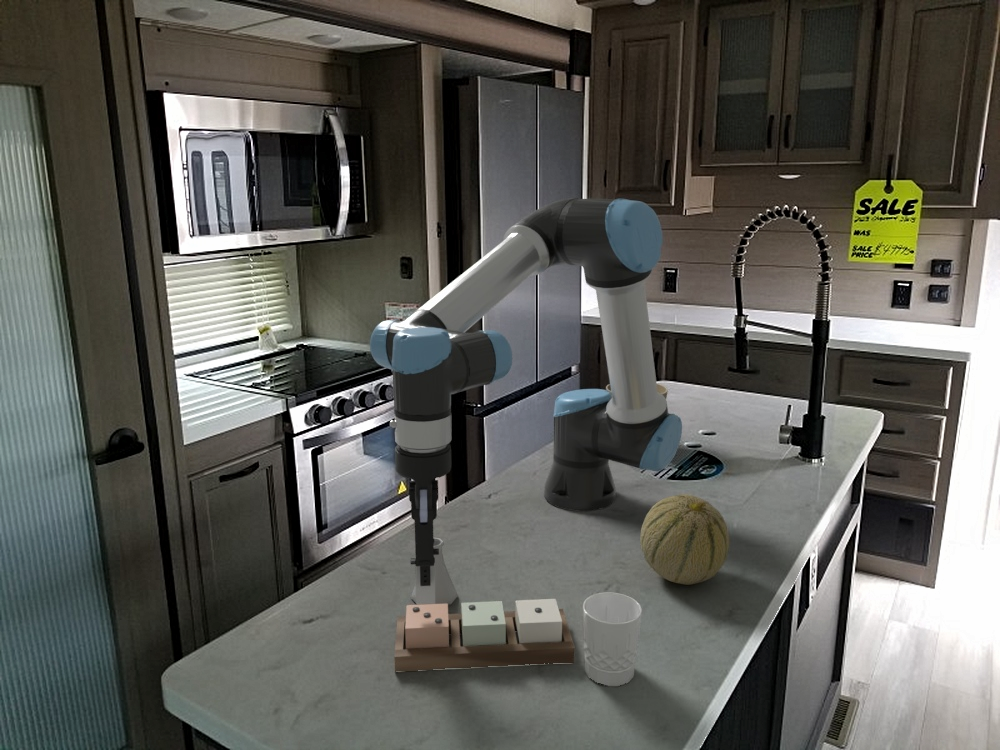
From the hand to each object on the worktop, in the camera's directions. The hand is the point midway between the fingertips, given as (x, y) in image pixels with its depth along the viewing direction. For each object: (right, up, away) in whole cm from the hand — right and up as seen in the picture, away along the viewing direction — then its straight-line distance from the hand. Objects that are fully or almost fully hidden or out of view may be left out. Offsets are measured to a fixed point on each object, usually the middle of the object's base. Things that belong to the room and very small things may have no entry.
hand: (425, 601), depth 109 cm
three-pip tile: (0, -5, +2) cm, 6 cm away
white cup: (+26, -9, -3) cm, 27 cm away
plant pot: (+44, +13, +84) cm, 95 cm away
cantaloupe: (+41, -3, +22) cm, 47 cm away
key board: (+8, -7, +3) cm, 11 cm away
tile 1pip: (+16, -5, +3) cm, 17 cm away
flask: (0, -4, +16) cm, 16 cm away
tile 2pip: (+8, -5, +2) cm, 10 cm away
